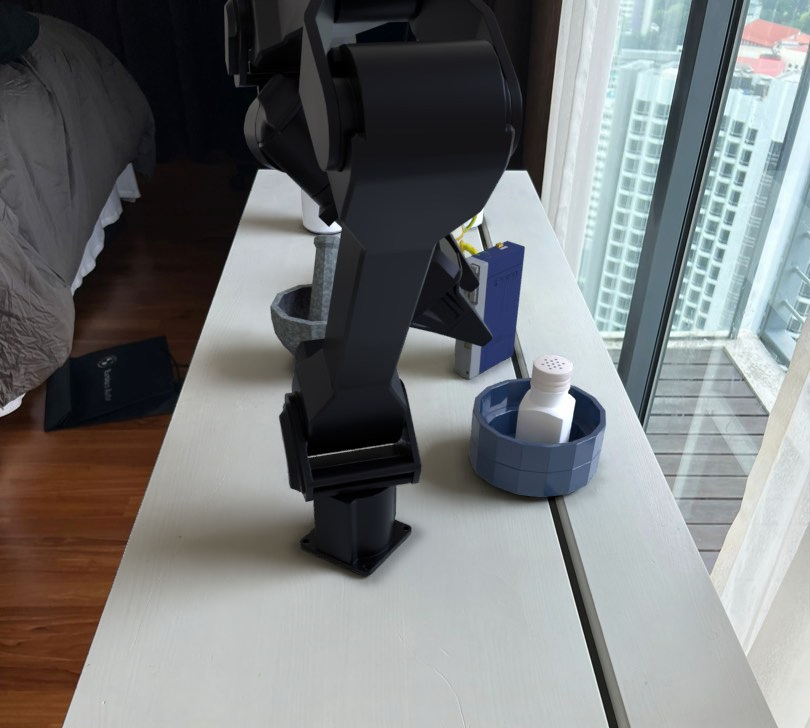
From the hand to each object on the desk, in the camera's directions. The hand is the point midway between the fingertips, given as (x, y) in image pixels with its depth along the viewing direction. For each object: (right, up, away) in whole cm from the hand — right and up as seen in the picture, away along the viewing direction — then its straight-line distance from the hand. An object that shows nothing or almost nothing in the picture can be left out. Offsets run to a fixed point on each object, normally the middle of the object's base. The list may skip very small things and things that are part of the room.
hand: (481, 313), depth 66 cm
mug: (-3, +12, +35) cm, 37 cm away
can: (-17, +26, +51) cm, 60 cm away
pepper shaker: (+6, -11, +7) cm, 14 cm away
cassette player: (+2, 0, +22) cm, 22 cm away
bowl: (+5, -11, +8) cm, 15 cm away
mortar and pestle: (-14, 0, +21) cm, 26 cm away
